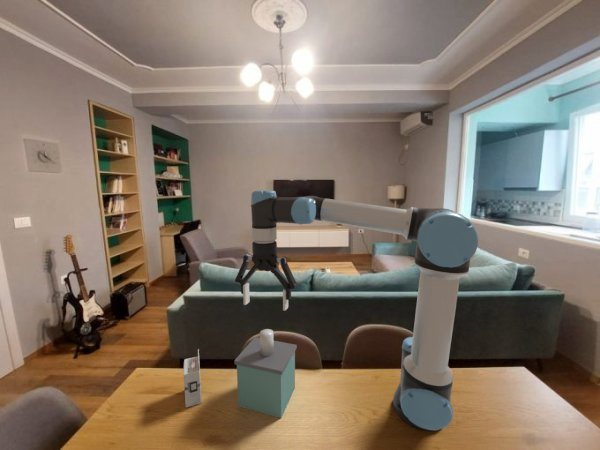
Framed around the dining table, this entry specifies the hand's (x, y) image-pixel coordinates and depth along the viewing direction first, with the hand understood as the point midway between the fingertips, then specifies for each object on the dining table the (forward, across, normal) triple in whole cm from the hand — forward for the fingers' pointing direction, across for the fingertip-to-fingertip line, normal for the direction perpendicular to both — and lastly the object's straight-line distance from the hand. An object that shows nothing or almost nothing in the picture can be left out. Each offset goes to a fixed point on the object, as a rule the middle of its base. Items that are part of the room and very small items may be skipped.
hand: (265, 306), depth 86 cm
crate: (+32, 0, 0) cm, 33 cm away
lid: (+19, 0, 0) cm, 19 cm away
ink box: (+33, +24, +7) cm, 41 cm away
